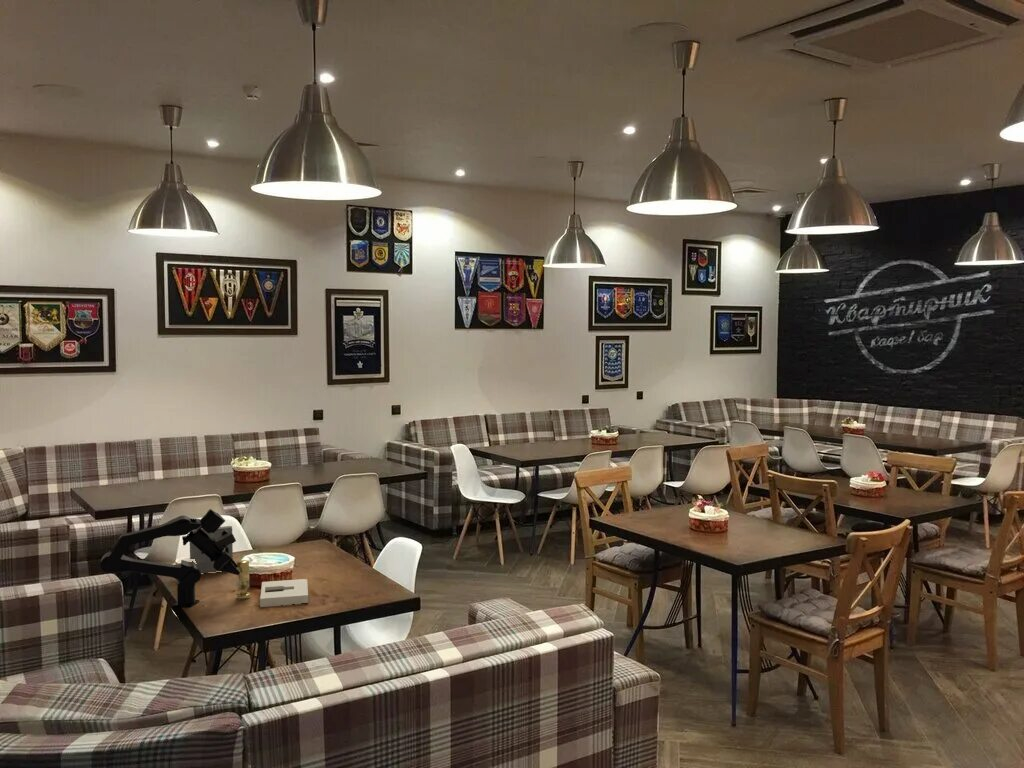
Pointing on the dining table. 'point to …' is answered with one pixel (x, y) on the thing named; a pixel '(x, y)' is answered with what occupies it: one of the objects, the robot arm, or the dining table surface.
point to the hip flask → (202, 558)
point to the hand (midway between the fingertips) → (237, 570)
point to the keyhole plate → (284, 593)
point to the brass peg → (243, 579)
